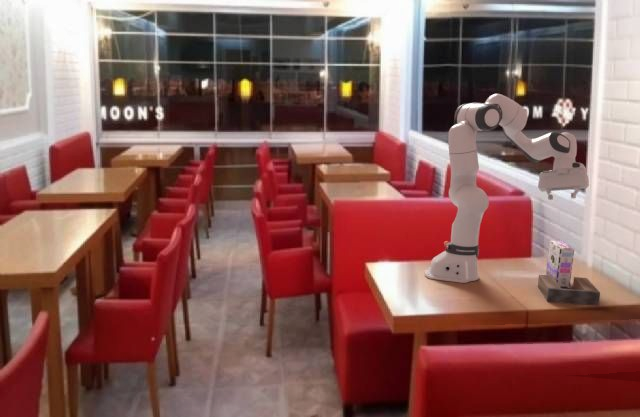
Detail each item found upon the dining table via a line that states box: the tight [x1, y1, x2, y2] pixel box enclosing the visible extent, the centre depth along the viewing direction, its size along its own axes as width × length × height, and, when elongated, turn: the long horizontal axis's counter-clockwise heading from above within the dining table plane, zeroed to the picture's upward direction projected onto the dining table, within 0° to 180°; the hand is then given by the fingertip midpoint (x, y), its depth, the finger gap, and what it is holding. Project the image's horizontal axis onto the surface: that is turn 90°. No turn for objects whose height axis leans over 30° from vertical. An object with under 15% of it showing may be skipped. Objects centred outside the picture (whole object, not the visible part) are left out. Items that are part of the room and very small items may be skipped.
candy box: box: [545, 240, 575, 289], centre depth 278 cm, size 14×6×16 cm, turn 179°
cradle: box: [537, 274, 601, 306], centre depth 263 cm, size 19×19×5 cm
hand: (561, 198), depth 283 cm, fingers open, 8 cm apart
